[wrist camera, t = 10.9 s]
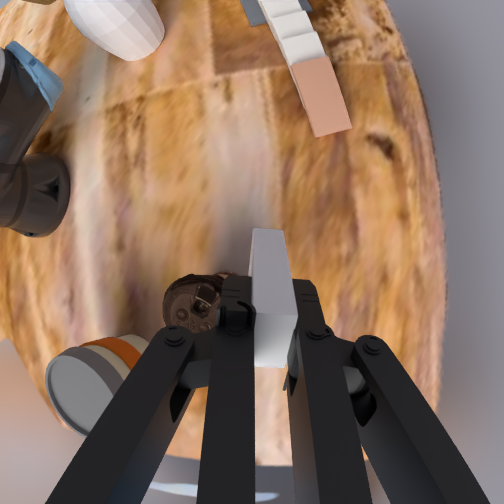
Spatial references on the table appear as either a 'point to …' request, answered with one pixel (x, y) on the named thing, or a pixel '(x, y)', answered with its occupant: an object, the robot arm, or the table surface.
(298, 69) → the domino
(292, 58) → the domino
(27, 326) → the table surface
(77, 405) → the reusable coffee cup
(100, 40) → the bottle
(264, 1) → the domino
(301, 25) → the domino
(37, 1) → the plant pot
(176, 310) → the coffee cup
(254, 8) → the slate coaster
